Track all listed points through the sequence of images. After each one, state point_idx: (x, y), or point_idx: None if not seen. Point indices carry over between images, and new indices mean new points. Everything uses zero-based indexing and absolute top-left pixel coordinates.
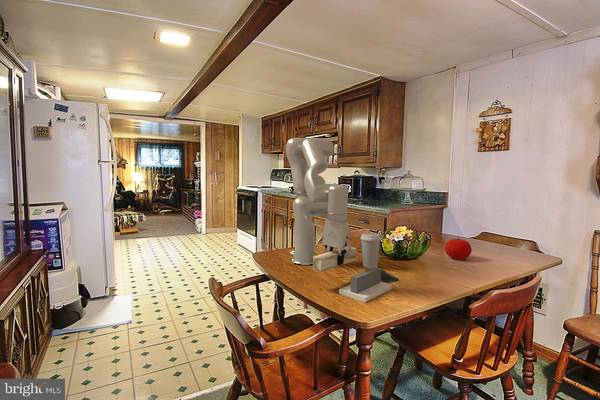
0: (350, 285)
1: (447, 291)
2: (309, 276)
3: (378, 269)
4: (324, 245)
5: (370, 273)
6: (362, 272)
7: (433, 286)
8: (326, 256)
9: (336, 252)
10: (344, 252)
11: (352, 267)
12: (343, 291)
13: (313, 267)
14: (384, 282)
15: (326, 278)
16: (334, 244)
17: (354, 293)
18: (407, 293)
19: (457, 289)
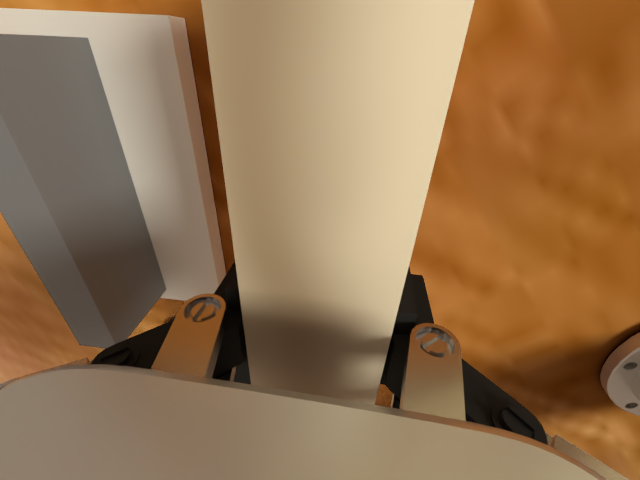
0: (184, 151)
1: (5, 348)
2: (556, 168)
3: (68, 325)
4: (558, 443)
5: (27, 243)
6: (46, 217)
7: (60, 363)
8: (260, 66)
9: (300, 349)
10: (126, 342)
11: (391, 393)
12: (131, 15)
13: None
14: (173, 317)
15: (423, 209)
16: (173, 448)
17: (47, 28)
18: (31, 267)
19: (12, 372)
